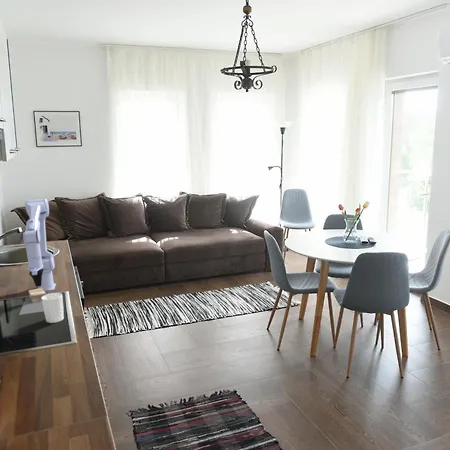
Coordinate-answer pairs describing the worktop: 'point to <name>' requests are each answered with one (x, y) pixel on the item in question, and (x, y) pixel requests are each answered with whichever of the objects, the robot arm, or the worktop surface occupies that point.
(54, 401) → the worktop surface
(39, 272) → the robot arm
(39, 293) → the birch slab
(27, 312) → the rubber mat
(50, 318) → the white cup
